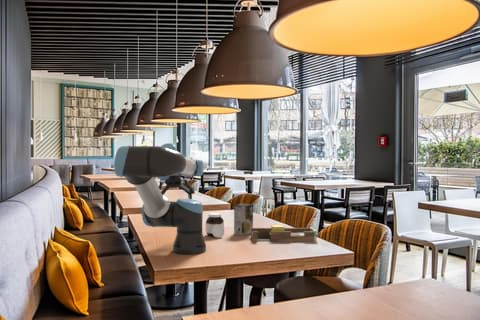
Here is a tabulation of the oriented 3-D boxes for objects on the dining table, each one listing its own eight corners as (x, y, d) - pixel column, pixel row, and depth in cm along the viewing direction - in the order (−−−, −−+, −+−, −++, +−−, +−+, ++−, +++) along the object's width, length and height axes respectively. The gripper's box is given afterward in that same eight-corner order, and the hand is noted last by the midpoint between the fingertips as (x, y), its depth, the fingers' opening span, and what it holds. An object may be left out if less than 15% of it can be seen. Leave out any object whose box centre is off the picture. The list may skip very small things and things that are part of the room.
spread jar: (215, 232, 228) (215, 212, 227) (231, 235, 221) (231, 214, 221) (200, 236, 218) (201, 214, 218) (217, 239, 211) (217, 216, 211)
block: (284, 234, 210) (284, 226, 210) (272, 234, 210) (272, 226, 209) (282, 232, 215) (282, 225, 215) (271, 232, 215) (271, 225, 214)
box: (316, 241, 208) (316, 230, 208) (252, 241, 206) (252, 230, 206) (311, 237, 218) (312, 227, 218) (251, 237, 217) (251, 226, 217)
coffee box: (245, 231, 232) (245, 203, 231) (253, 233, 227) (253, 204, 227) (233, 233, 225) (233, 204, 225) (241, 235, 221) (241, 205, 220)
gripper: (196, 165, 210) (200, 198, 221) (147, 169, 208) (154, 202, 220) (196, 174, 203) (200, 207, 215) (146, 178, 202) (152, 211, 213)
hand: (177, 204), depth 217 cm, fingers open, 13 cm apart
